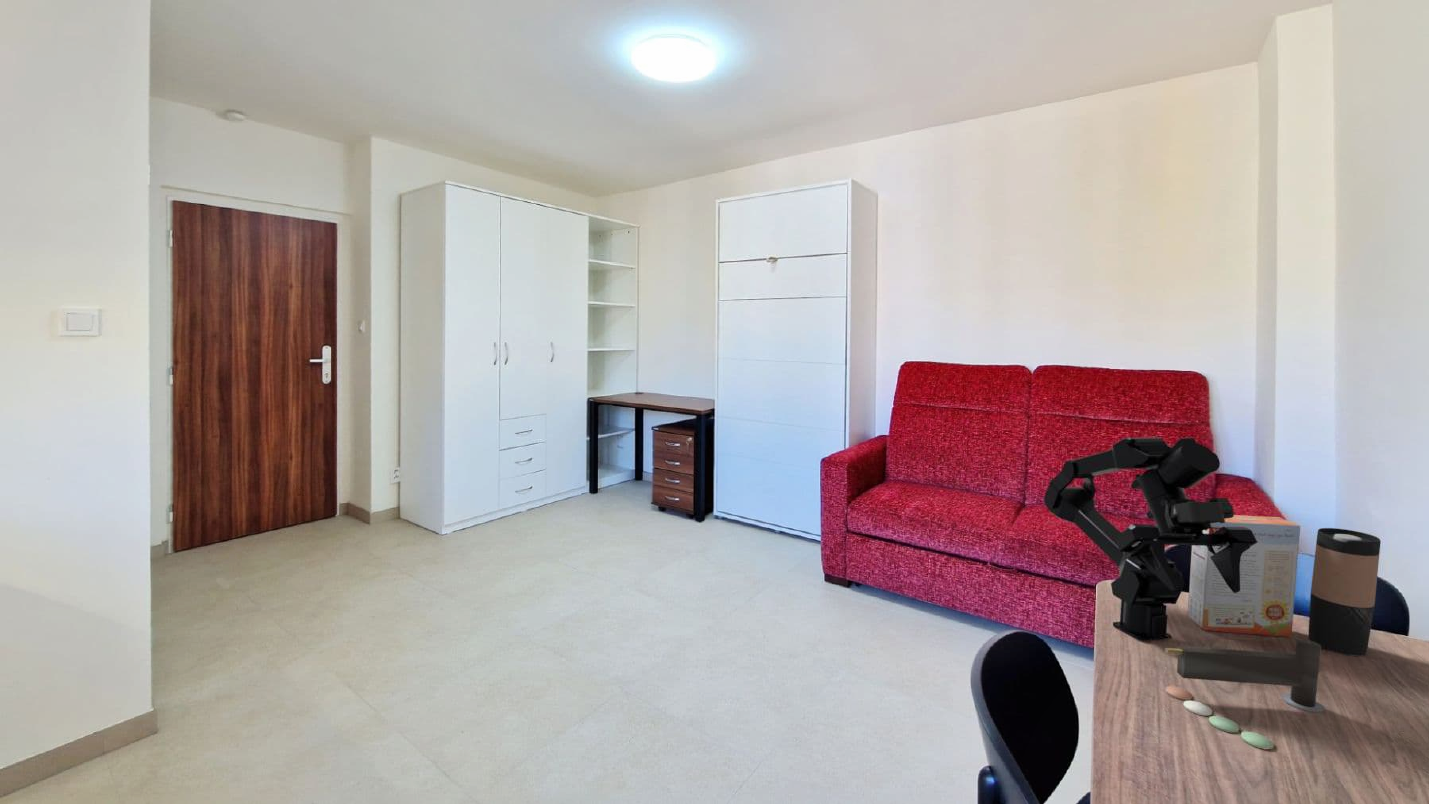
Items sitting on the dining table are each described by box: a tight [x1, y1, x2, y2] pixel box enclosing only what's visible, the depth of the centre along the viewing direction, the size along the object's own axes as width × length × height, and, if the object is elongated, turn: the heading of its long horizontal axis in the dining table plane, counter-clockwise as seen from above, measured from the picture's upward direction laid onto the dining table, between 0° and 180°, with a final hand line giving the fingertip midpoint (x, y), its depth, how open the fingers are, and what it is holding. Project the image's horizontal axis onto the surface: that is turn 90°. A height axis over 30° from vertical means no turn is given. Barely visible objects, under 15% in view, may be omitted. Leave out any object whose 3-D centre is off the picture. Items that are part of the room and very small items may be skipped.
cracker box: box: [1187, 514, 1301, 638], centre depth 110 cm, size 14×6×21 cm, turn 77°
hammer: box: [1164, 638, 1322, 707], centre depth 89 cm, size 3×20×9 cm, turn 81°
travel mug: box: [1308, 527, 1381, 657], centre depth 104 cm, size 8×8×20 cm
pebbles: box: [1164, 685, 1325, 749], centre depth 87 cm, size 14×20×1 cm
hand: (1205, 590), depth 94 cm, fingers open, 9 cm apart
